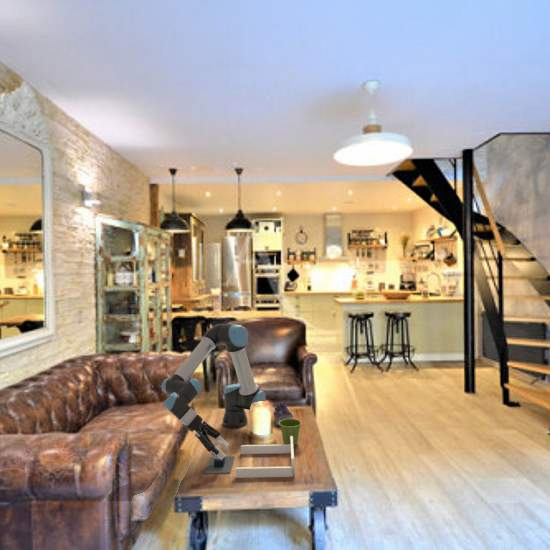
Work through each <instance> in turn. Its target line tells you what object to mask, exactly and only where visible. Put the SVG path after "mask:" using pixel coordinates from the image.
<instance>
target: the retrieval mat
mask: <svg viewBox="0 0 550 550" xmlns="http://www.w3.org/2000/svg"><path fill="white" fill-rule="evenodd" d="M214 459H215V458H214V457H213V456H209V459H208V461H207V463H206V466H205V468H204V471H203V474H204V475H209V474H210V475H211V474H213V475H214V474H217V475H218V474H231V472H232V468H233V464H234V460H235V455H234V456H232V455H231V456H227V455H226V456H225V463H224V467H216V468H214Z"/></svg>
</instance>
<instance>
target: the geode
mask: <svg viewBox="0 0 550 550" xmlns="http://www.w3.org/2000/svg"><path fill="white" fill-rule="evenodd" d="M273 417H274V422H275V425H276V426H278V427H280V424H279V422H280V421H281V420H284V419H293V417H294V416H293V414H292V412H290V410H289V409H288V407H287V403H286V402H284V403H282V402H280V404H277V405H276V407H274V412H273Z"/></svg>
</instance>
